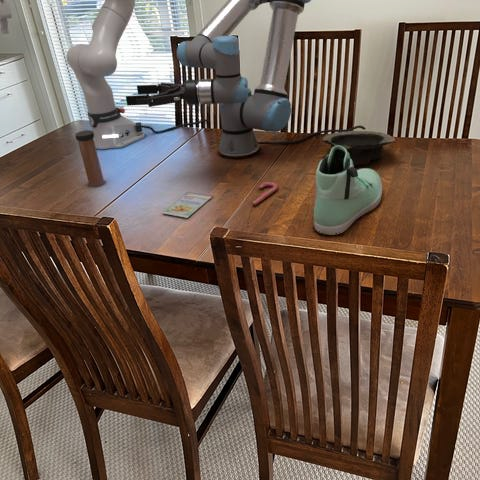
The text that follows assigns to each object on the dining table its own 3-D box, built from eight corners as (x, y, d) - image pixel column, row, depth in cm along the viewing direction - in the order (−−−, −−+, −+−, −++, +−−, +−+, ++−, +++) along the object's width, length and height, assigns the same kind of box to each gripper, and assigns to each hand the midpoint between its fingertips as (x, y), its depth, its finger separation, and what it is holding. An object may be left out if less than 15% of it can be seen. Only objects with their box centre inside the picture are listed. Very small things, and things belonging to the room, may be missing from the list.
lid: (94, 139, 157) (93, 134, 156) (76, 142, 155) (75, 137, 155) (94, 133, 162) (92, 129, 161) (76, 136, 160) (74, 131, 159)
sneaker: (389, 187, 148) (396, 123, 138) (356, 242, 123) (361, 168, 112) (346, 181, 154) (350, 119, 144) (306, 232, 129) (307, 161, 118)
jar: (104, 185, 166) (92, 135, 156) (89, 187, 164) (76, 138, 155) (103, 179, 170) (92, 130, 161) (88, 182, 169) (76, 133, 159)
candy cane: (239, 202, 147) (239, 198, 146) (265, 183, 157) (265, 179, 156) (255, 207, 144) (255, 202, 143) (281, 187, 154) (281, 183, 153)
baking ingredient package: (162, 212, 143) (188, 192, 155) (162, 213, 144) (188, 193, 155) (187, 216, 140) (211, 196, 151) (187, 218, 140) (212, 197, 151)
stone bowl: (352, 176, 156) (352, 149, 152) (308, 158, 177) (307, 134, 172) (409, 157, 165) (411, 131, 161) (361, 143, 185) (362, 119, 181)
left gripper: (8, -16, 148) (22, 33, 155) (-17, -15, 161) (-3, 29, 168) (-12, -13, 144) (3, 36, 151) (-36, -13, 157) (-21, 32, 164)
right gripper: (194, 115, 141) (124, 118, 143) (204, 94, 163) (143, 97, 164) (191, 89, 137) (119, 92, 139) (202, 71, 159) (139, 74, 160)
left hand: (0, 32), depth 160 cm, fingers open, 8 cm apart
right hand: (132, 95), depth 152 cm, fingers open, 13 cm apart
